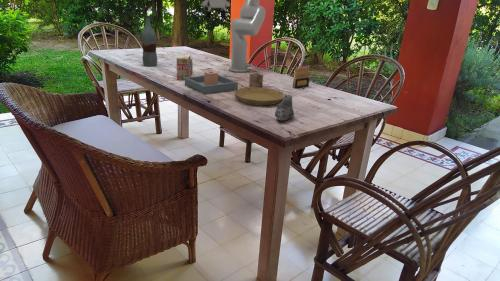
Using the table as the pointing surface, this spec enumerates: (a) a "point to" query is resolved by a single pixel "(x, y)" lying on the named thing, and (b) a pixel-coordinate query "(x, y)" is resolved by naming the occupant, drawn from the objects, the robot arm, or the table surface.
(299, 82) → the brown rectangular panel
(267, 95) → the plant saucer
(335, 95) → the table surface
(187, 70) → the stack of blocks
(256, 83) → the walnut block
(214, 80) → the terracotta block
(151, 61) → the bottle
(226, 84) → the tray
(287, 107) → the mineral rock
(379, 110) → the table surface
